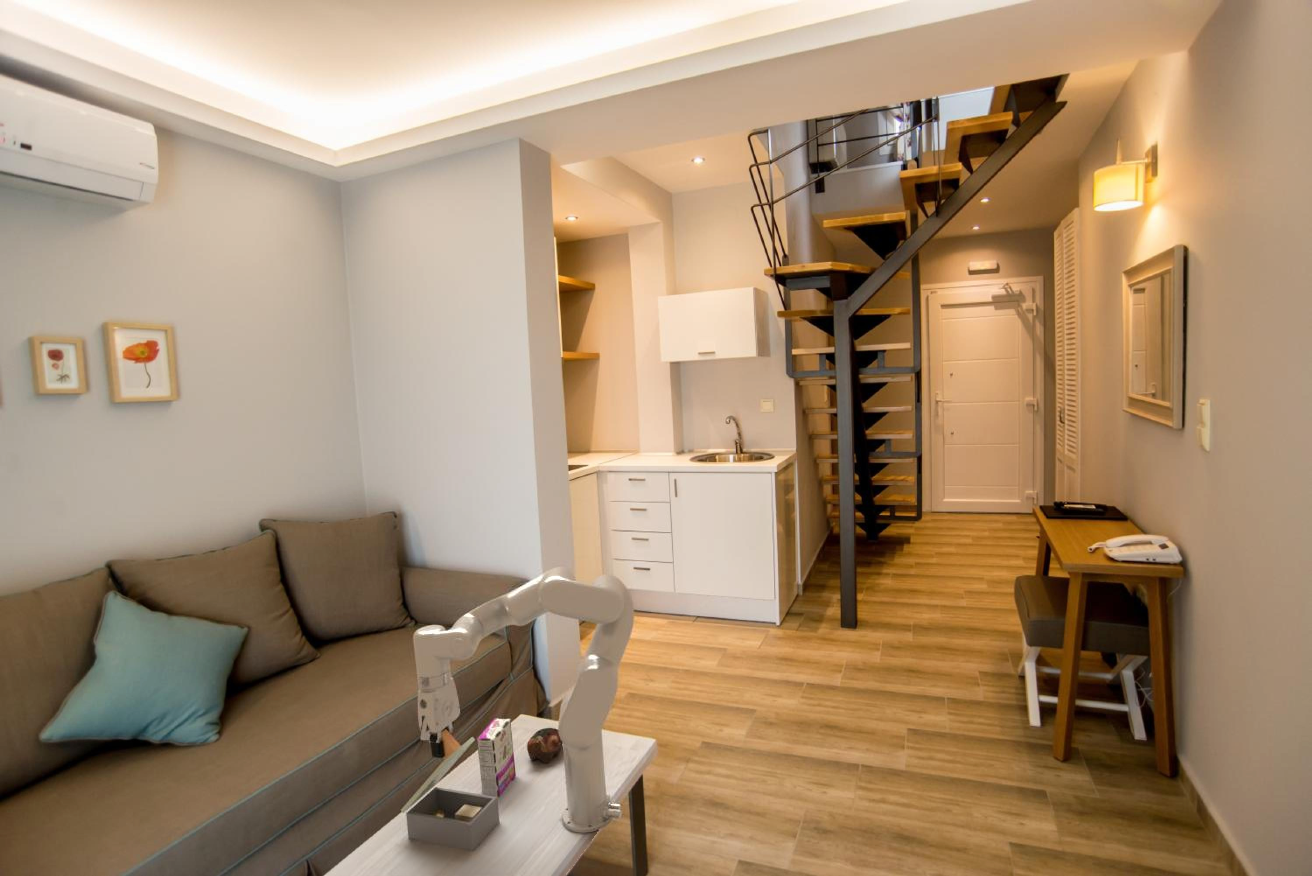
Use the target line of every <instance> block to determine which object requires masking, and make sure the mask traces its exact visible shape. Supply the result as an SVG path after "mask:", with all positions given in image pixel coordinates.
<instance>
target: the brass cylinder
mask: <svg viewBox="0 0 1312 876" xmlns="http://www.w3.org/2000/svg"><path fill="white" fill-rule="evenodd" d="M428 815H432V816H438V817H443V818H444V812H443V811H442V810H435V811H432V812H430V813H429V814H428Z"/></svg>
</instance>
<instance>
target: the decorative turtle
mask: <svg viewBox="0 0 1312 876" xmlns="http://www.w3.org/2000/svg"><path fill="white" fill-rule="evenodd" d="M562 746H563V742H562V741H561V739H560V736H559V732H558V728H555V727H545V728H541V729H539V730H537V731H535V733H533V734H532V736H531V737H530V738H529V740H528V741H527V744H526V751H527V754H528V757H529V759H530V760H531V761H535V760H537V759H538V758H539V759H540V760H541V761H542V762H543V763H545V764H548V763H550V761H551V760H552V757H553V756H555V757H557V756H558V757H559V755H560V751H561V750H562V748H563V747H562Z"/></svg>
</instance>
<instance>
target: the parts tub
mask: <svg viewBox="0 0 1312 876" xmlns="http://www.w3.org/2000/svg"><path fill="white" fill-rule="evenodd" d="M465 804H466V805H471V806H477V807H482V810H481V811H480V812H479V813H478V814H477V815H476V816H475V817H474V818H473V819H472V821H471V822H465V821H460V820H455V814H456V813H457V812H458V811H459V810H460V809H461V808H462V807H463V806H464V805H465ZM435 810H442V811H443V812H444V818H443V817H438V816H432V815H428V814H429V813H430V812H432V811H435ZM405 816H406V827H407V837H408V840H413V841H419V842H424V843H428V844H429V843H430V844H435V845H440V846H444V847H451V848H456V849H460V850H465V851H471V852H474V850H475V849H477V847H478V846H480V844H481V843H482V842H483V841H484V840H485V838H487V836H488V835H489V834H490V833H491V832H492V831H493V829H494V828H495V827H496V826H497V825H498V824H500V813H499V801H498V797H494V796H488V795H483V794H481V793H475V792H470V791H469V792H467V791H461V790H457V789H456V790H455V789H450V788H444V787H437V786H434V787H433V788H432V789H431V790H430V791H429V792H427V793H426V794H425V795H424V796H423V797H422V799H420V800H418V801H417V802H416V803H415V804H414V805H413V806H412V807H411V808H409V809H408V810H407V811H406V812H405Z"/></svg>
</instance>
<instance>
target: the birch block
mask: <svg viewBox="0 0 1312 876" xmlns="http://www.w3.org/2000/svg"><path fill="white" fill-rule="evenodd" d="M481 810H482V807H477V806H471V805H466V804H465V805H464V806H463V807H462V808H461V809H460V810H459V811H458V812H457V813H456V814H455V820H460V821H465V822H471V821H472V819H473V818H474V817H475V816H476V815H477V814H478V813H479V812H480V811H481Z"/></svg>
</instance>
